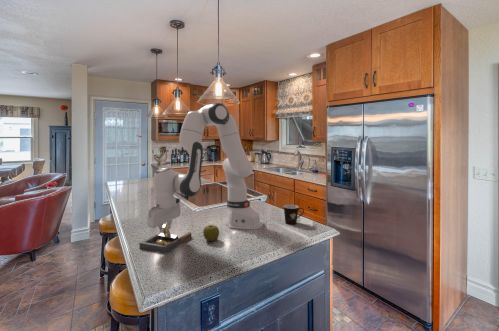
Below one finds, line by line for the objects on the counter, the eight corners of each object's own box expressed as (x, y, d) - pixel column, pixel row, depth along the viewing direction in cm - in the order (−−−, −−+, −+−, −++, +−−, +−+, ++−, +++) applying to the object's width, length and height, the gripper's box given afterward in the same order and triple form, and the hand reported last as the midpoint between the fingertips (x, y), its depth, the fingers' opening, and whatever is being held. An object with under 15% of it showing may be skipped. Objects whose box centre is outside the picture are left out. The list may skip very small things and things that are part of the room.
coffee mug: (282, 225, 152) (282, 208, 151) (284, 220, 160) (284, 204, 159) (303, 226, 149) (303, 209, 148) (303, 221, 157) (304, 205, 156)
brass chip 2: (175, 243, 126) (175, 240, 126) (169, 247, 122) (169, 244, 122) (167, 242, 127) (167, 239, 127) (162, 246, 123) (161, 242, 123)
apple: (211, 236, 135) (211, 222, 134) (222, 240, 130) (222, 226, 129) (200, 240, 129) (199, 226, 128) (211, 244, 124) (210, 230, 123)
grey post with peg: (179, 240, 128) (174, 225, 124) (176, 243, 126) (171, 228, 122) (162, 237, 132) (156, 223, 127) (159, 240, 130) (154, 226, 126)
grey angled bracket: (180, 244, 125) (180, 239, 124) (166, 253, 115) (166, 247, 115) (154, 240, 130) (154, 235, 130) (139, 248, 121) (139, 242, 120)
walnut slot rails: (191, 237, 134) (191, 232, 133) (180, 244, 125) (180, 238, 125) (167, 233, 139) (166, 229, 138) (155, 239, 130) (155, 234, 130)
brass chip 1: (167, 242, 128) (167, 239, 128) (162, 246, 124) (162, 242, 123) (159, 241, 129) (159, 238, 129) (154, 245, 125) (154, 241, 125)
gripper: (154, 208, 113) (155, 239, 115) (182, 198, 133) (183, 224, 134) (142, 207, 116) (144, 237, 117) (171, 197, 135) (172, 223, 136)
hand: (165, 230), depth 126 cm, fingers closed on grey post with peg, 3 cm apart
